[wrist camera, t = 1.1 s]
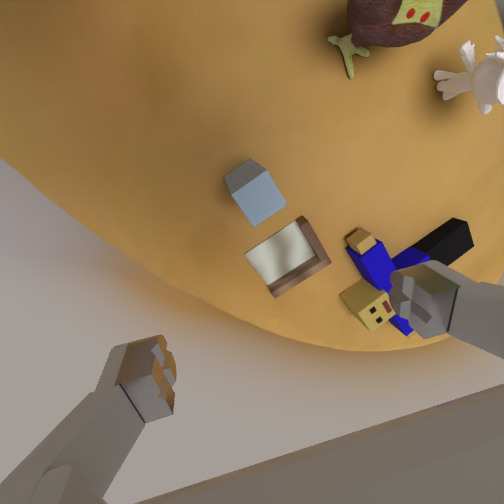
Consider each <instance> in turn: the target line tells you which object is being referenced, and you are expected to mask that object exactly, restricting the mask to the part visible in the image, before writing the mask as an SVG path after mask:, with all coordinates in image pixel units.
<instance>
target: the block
mask: <svg viewBox="0 0 504 504" xmlns="http://www.w3.org/2000/svg"><path fill="white" fill-rule="evenodd" d="M224 179H225V181H226V184H227V186H228V189H229V191H230V193H231V195H232V197H233V198H234V200H235V201H236V203H237V204H238V205H239V207H240V208H241V210H242V211H243V213H244V214H245V215H246V217H247V218H248V220H249V221H250V223H251V224H252V225H253V227H255V226H257V225H258V224H260V223H261V222H263V221H264V220H266V219H267V218H269V217H270V216H272V215H273V214H275V213H276V212H278V211H279V210H281V209H282V208H283V207H285V206H286V205H287V203H286V201H285V200H284V198H283V196H282V195H281V193H280V191H279V189H278V188H277V186H276V184H275V183H274V181H273V179H272V178H271V176H270V174H269V173H268V171H267V170H266V169H265V168H263V167H262V166H260V165H259V164H258V163H256V162H255V161H253V160H252V159H248V160H247V161H245V162H244V163H243V164H241V165H240V166H238V167H237V168H236V169H234V170H233V171H231V172H230V173H229V174H227V175H226V176H224Z"/></svg>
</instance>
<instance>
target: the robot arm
mask: <svg viewBox="0 0 504 504" xmlns="http://www.w3.org/2000/svg"><path fill="white" fill-rule="evenodd" d="M390 283H391V284H392V285H393V287H392V288H391V290H390V291H389V302H390V305H391V307H392V309H393V310H394V312H395V313H396V314H397V315H398V316H399V317H402V318H405V319H407V320H409V326H410V327H411V328H412V329H413V330H414V331H416V332H417V333H418V334H419V335H420V336H421V337H422V338H423V339H427V338H430V337H434V336H438V335H442V334H445V333H448V334H449V335H451V336H453V337H456V338H458V339H460V340H462V341H465V342H467V343H470V344H471V345H474V346H476V347H478V348H480V349H483V350H485V351H487V352H489V353H492V354H494V355H496V356H498V357H501V358H503V359H504V286H501V285H496V284H491V283H486V282H478V283H477V282H475V281H473V280H471V279H470V278H468V277H466V276H464V275H462V274H461V273H459V272H457V271H455V270H453V269H451V268H450V267H448V266H446V265H444V264H442V263H440V262H439V261H435V260H431V261H427V262H424V263H421V264H418V265H415V266H411V267H408V268H404V269H400V270H397V271H393V272H392V273H391V275H390ZM166 347H167V342H166V340H165V338H164V336H163V335H157V336H153V337H149V338H145V339H141V340H137V341H133V342H130V343H126V344H122V345H118V346H115V347H114V348H112V349H111V352H110V354H109V357H108V359H107V362H106V364H105V367H104V369H103V372H102V374H101V377H100V379H99V382H98V384H97V387H96V390H95V392H91V393H89V394H88V395H87V396H86V397H85V398H84V399H83V400H82V401H81V402H80V403H79V404H78V405H77V406H76V407H75V408H74V409H73V410H72V411H71V412H70V413H69V415H67V416H66V417H65V418H64V419H63V420H62V421H61V422H60V423H59V424H58V425H57V427H56V428H55V429H54V430H53V431H52V432H51V433H50V434H49V435H48V436H47V437H46V438H45V439H44V440H43V441H42V442H41V443H40V444H39V445H38V446H37V447H36V448H35V449H34V450H33V451H32V452H31V453H30V454H29V455H28V456H27V457H26V458H25V459H24V460H23V461H22V462H21V463H20V464H19V465H18V466H17V467H16V468H15V469H14V470H13V471H12V472H11V473H10V474H9V475H8V476H7V477H6V479H4V480H3V481H2V482H1V484H0V504H108V503H107V502H106V501H105V500H104V499H103V496H104V494H105V493H106V491H107V489H108V488H109V486H110V484H111V482H112V481H113V479H114V477H115V476H116V474H117V472H118V470H119V469H120V467H121V465H122V464H123V462H124V460H125V459H126V457H127V455H128V454H129V452H130V450H131V449H132V447H133V445H134V443H135V441H136V440H137V438H138V437H139V435H140V433H141V432H142V430H143V428H144V427H145V423H148V422H151V421H154V420H157V419H160V418H163V417H166V416H169V415H172V414H173V408H174V397H175V393H174V391H173V389H172V386H173V385H174V383H175V382H176V364H175V360H174V357H173V355H172V353H171V352H170V351H167V350H166ZM135 504H504V384H501V385H498V386H495V387H492V388H489V389H486V390H483V391H480V392H477V393H474V394H471V395H468V396H464V397H461V398H458V399H455V400H452V401H449V402H446V403H443V404H440V405H437V406H434V407H431V408H428V409H424V410H421V411H418V412H415V413H412V414H409V415H406V416H403V417H400V418H397V419H394V420H390V421H388V422H384V423H381V424H378V425H375V426H372V427H369V428H366V429H363V430H360V431H356V432H353V433H350V434H347V435H344V436H341V437H338V438H335V439H332V440H329V441H326V442H322V443H319V444H317V445H313V446H310V447H307V448H304V449H301V450H298V451H295V452H292V453H289V454H285V455H282V456H279V457H276V458H273V459H270V460H267V461H264V462H261V463H258V464H255V465H252V466H249V467H245V468H242V469H239V470H236V471H233V472H230V473H227V474H224V475H221V476H218V477H215V478H212V479H209V480H206V481H202V482H199V483H196V484H193V485H190V486H187V487H184V488H181V489H178V490H175V491H172V492H169V493H165V494H163V495H159V496H156V497H153V498H150V499H147V500H144V501H141V502H138V503H135Z"/></svg>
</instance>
